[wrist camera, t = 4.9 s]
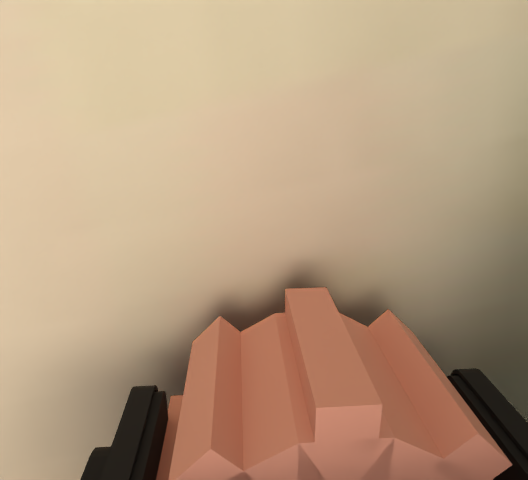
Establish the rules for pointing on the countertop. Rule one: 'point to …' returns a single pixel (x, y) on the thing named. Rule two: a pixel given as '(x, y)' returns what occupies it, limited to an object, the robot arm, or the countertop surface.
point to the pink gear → (321, 404)
